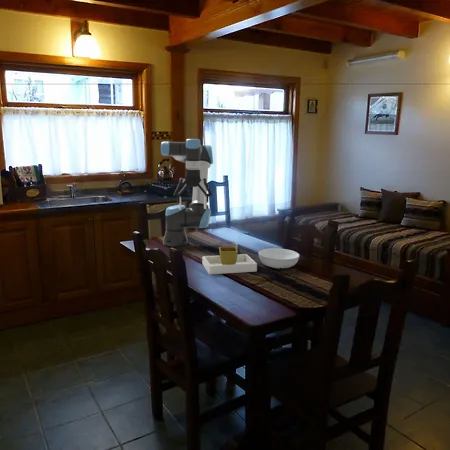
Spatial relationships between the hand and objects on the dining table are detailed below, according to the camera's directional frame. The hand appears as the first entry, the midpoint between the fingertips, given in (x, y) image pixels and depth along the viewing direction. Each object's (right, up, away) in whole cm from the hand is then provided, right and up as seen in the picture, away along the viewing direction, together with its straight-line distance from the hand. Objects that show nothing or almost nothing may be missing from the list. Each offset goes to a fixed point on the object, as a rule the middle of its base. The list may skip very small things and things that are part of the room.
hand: (192, 209), depth 228 cm
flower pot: (+19, -29, -11) cm, 37 cm away
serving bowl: (+45, -30, -6) cm, 54 cm away
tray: (+19, -30, -10) cm, 37 cm away
